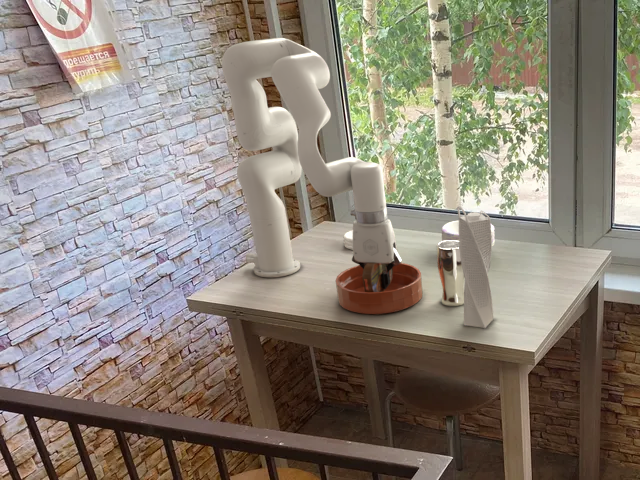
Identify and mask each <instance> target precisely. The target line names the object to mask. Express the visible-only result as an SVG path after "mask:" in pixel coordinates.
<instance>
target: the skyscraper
mask: <svg viewBox="0 0 640 480" xmlns="http://www.w3.org/2000/svg"><path fill="white" fill-rule="evenodd" d="M456 209H457V216H458V220H459V249H460V258H461V264H462V269H463V274H464V304H463V326H468V327H475V328H483V329H487V327H488V326H489V324H491V323H492V322H493V321H494V319H495V318H494V317H495V316H494V308H493V298H492V297H493V296H492V289H491V284H490V279H489V271H490V267H491V261H492V260H491V259H492V251H493V249H492V248H493V246H492V235H491V224H492V222H491V217H490V216H489V215H488V214H487V213H486V212H485V211H484V210H480V211H479V212H477V211H473V212H469V213H466V211H465V210H464V208H463V207H461V206H460V205H457V207H456ZM461 211H462V213H463V215H461Z"/></svg>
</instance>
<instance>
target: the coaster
mask: <svg viewBox="0 0 640 480" xmlns="http://www.w3.org/2000/svg"><path fill="white" fill-rule="evenodd" d="M343 245H344V247H345V248H346V249H348V250H352V251H353V229H352V230H349V231H347V232H345V233H344V234H343Z"/></svg>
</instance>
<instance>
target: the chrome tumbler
mask: <svg viewBox="0 0 640 480" xmlns="http://www.w3.org/2000/svg"><path fill="white" fill-rule="evenodd" d="M436 263H437V264H436V265H437V271H438V275H439V278H440V283H441V287H442V288H441V289H442V292H441V293H442V294H441V304H442V305H444V306H446V307H459V306H462V305H464V285H465V277H464V274H463V269H462V264H461V258H460V249H459V241H456V240H448V241H443V242H442V241H440V242H438V243H436Z"/></svg>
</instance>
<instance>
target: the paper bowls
mask: <svg viewBox="0 0 640 480" xmlns="http://www.w3.org/2000/svg"><path fill="white" fill-rule="evenodd" d="M440 231H441V242H443V241H448V240H456V241H459V219H458V220H453V221H449V222H447V223H445V224H443V225H442V227H441V230H440ZM491 235H492V247H494V245H495V239H496V238H495V226H494V225H493V224H492V223H491Z"/></svg>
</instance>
